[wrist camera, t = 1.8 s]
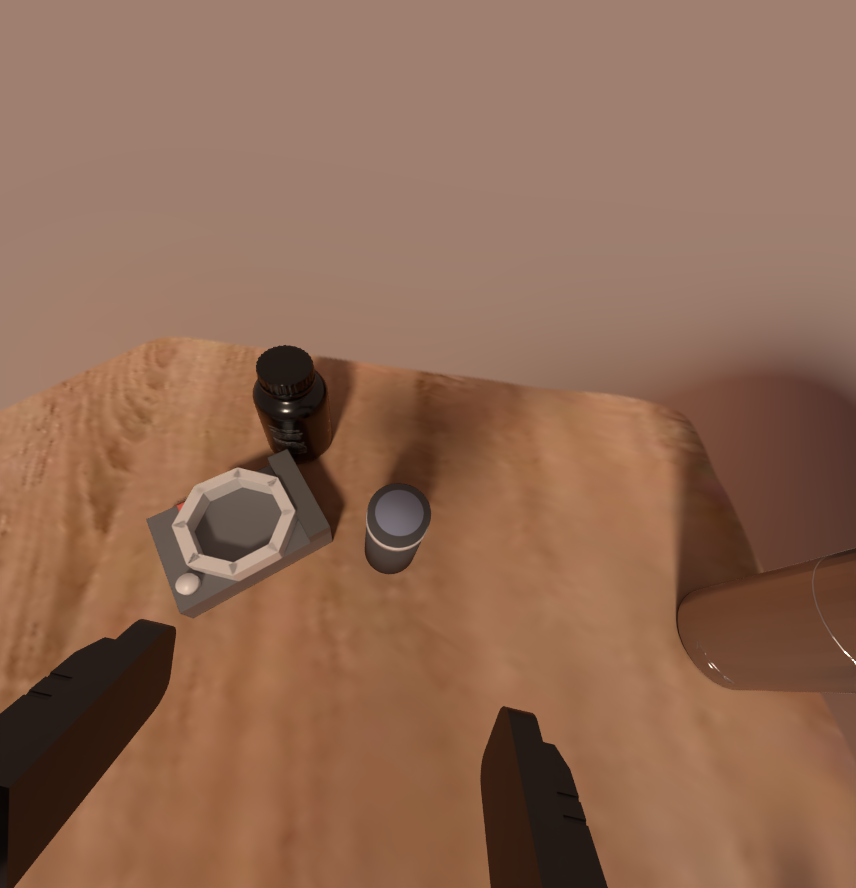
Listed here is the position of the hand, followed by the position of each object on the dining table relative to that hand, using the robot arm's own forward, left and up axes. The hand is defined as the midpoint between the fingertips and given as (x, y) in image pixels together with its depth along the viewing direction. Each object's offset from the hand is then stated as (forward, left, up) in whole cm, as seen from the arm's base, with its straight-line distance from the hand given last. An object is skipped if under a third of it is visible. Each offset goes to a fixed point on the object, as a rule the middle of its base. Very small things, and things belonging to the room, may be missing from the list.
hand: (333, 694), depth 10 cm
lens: (-9, -8, -28) cm, 30 cm away
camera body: (+2, -16, -28) cm, 32 cm away
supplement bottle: (-7, -24, -28) cm, 38 cm away
